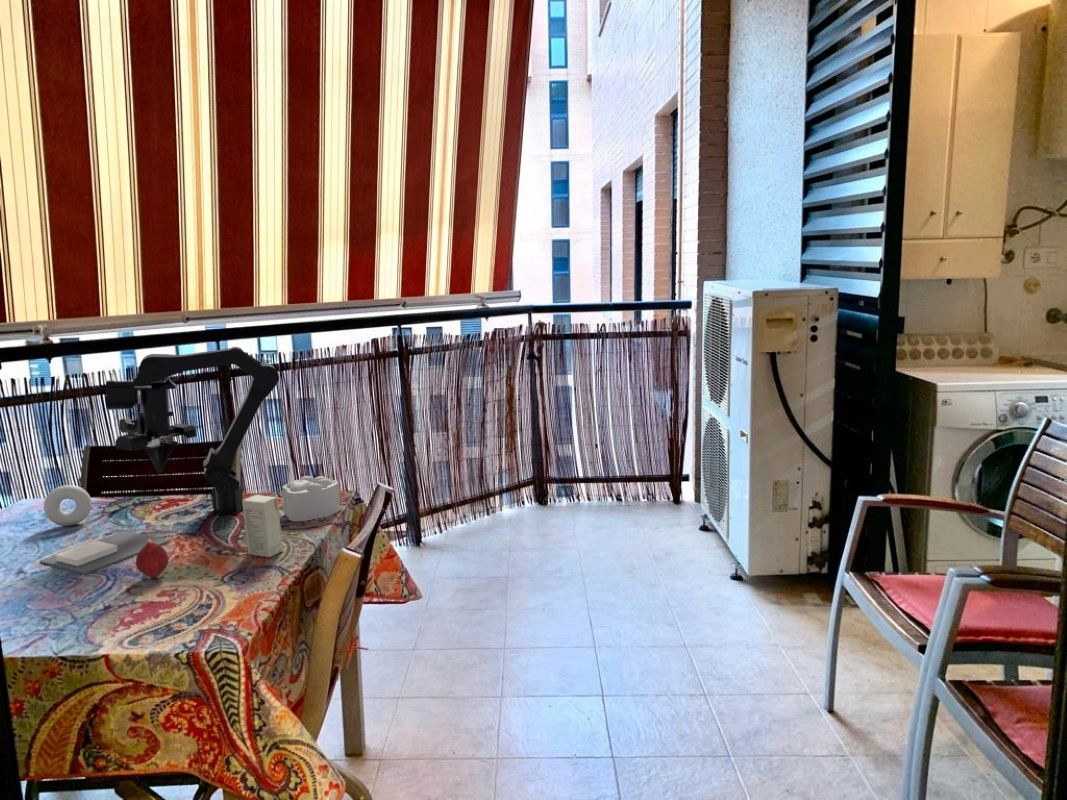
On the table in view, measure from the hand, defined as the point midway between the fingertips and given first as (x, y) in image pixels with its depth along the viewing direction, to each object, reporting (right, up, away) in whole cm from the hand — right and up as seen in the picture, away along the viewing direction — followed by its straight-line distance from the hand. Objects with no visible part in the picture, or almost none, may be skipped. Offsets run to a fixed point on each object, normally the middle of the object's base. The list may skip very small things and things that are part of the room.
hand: (159, 471), depth 190 cm
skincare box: (+32, -16, -20) cm, 41 cm away
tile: (-5, -15, -22) cm, 27 cm away
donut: (-21, -13, -1) cm, 25 cm away
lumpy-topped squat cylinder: (+36, -11, +5) cm, 38 cm away
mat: (-3, -16, -18) cm, 24 cm away
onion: (+14, -18, -32) cm, 40 cm away
